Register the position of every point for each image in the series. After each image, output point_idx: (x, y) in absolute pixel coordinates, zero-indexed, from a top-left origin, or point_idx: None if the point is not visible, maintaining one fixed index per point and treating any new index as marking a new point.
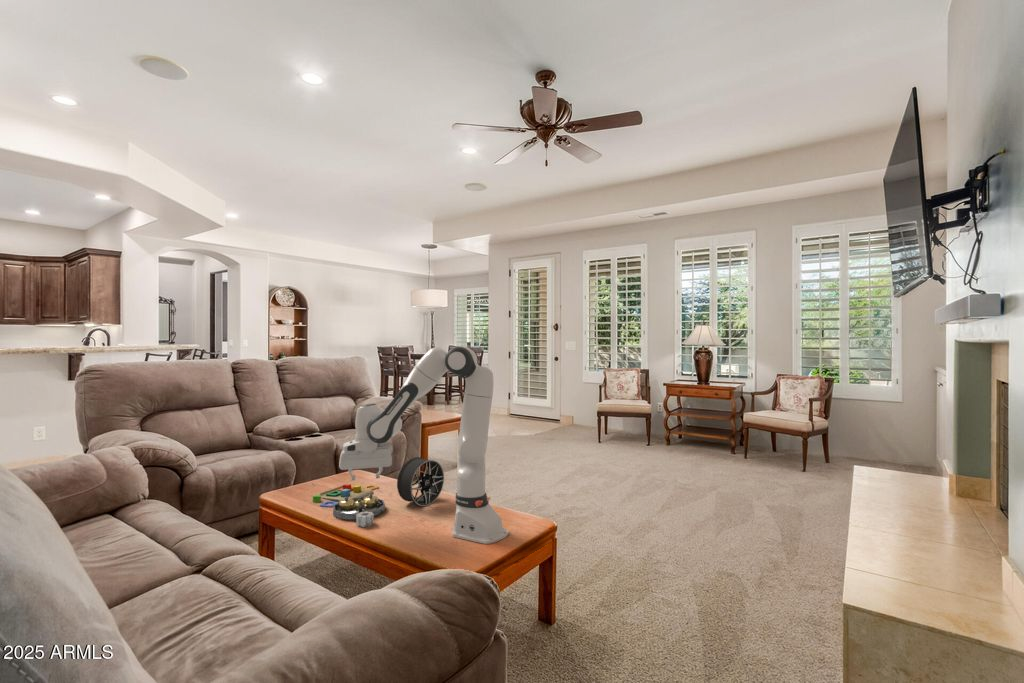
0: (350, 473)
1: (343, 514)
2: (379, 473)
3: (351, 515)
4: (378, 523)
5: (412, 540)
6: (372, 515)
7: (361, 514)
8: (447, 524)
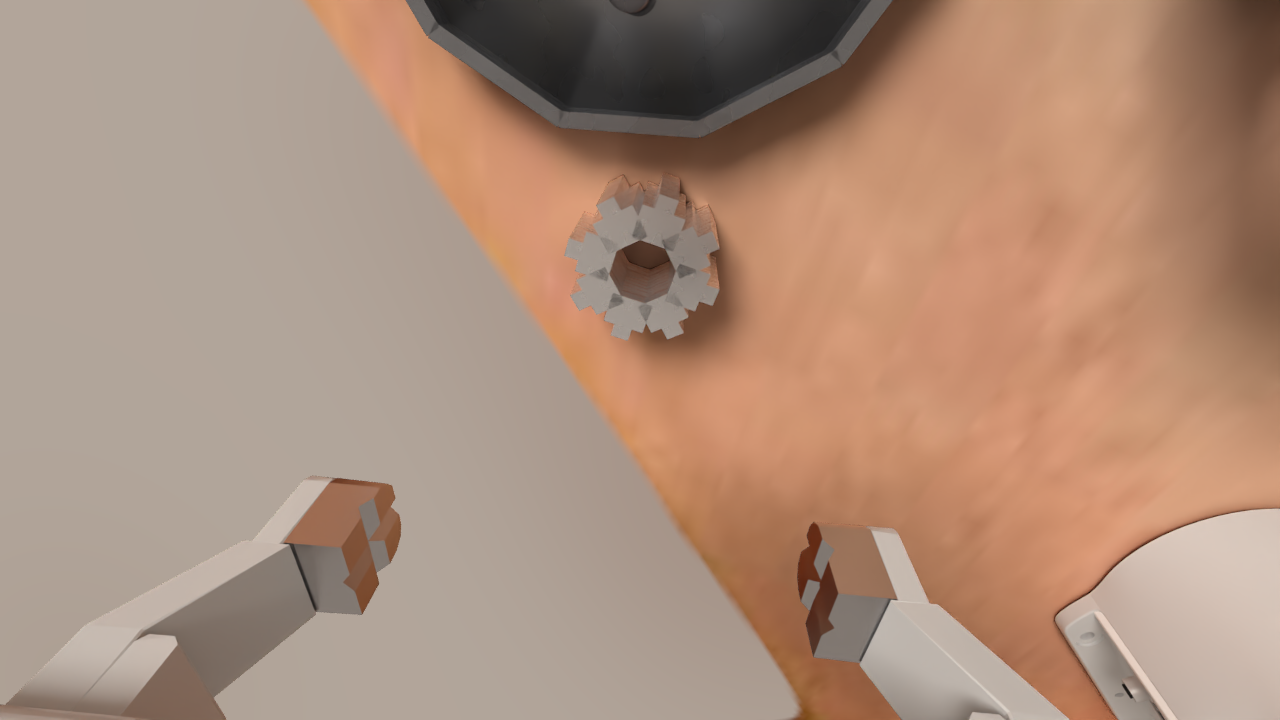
0: (217, 674)
1: (454, 52)
2: (890, 679)
3: (535, 107)
4: (751, 267)
5: None
6: (704, 299)
7: (610, 264)
8: (1172, 478)
